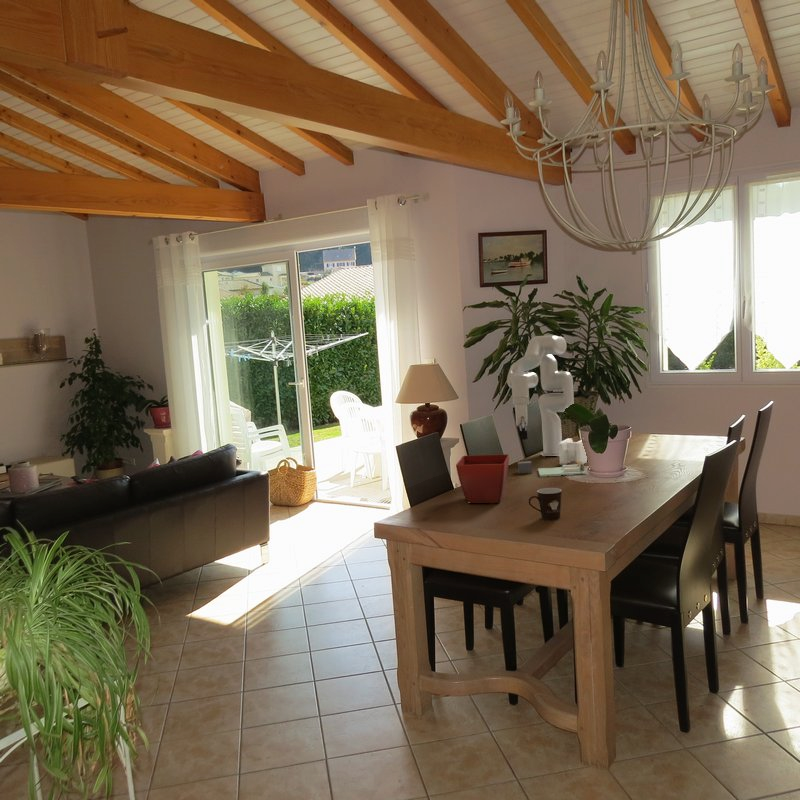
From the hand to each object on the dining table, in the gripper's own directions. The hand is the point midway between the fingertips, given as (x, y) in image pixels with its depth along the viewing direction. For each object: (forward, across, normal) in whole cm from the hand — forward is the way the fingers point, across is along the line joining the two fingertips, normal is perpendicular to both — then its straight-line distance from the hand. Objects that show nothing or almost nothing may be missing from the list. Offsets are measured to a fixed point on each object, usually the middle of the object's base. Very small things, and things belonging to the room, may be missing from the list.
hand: (523, 437), depth 353 cm
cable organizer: (+17, -14, +24) cm, 32 cm away
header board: (+16, +4, +16) cm, 23 cm away
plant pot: (+17, +49, -18) cm, 55 cm away
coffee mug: (+17, +80, +4) cm, 82 cm away
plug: (+17, 0, 0) cm, 17 cm away
